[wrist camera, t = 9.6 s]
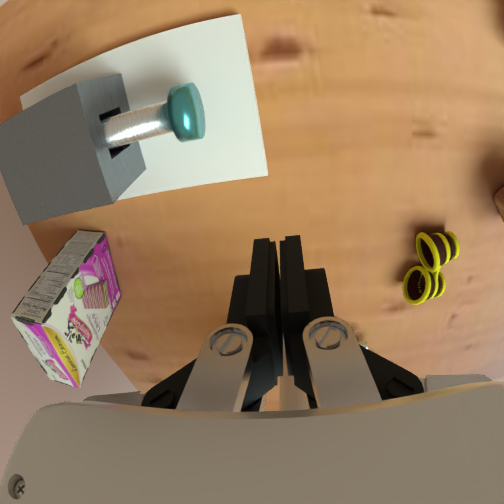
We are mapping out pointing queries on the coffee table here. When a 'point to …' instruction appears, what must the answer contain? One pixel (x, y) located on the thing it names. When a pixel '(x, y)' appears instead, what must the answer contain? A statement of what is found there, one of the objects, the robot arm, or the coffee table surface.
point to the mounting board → (212, 94)
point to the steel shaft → (160, 119)
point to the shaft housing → (68, 152)
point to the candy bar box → (70, 307)
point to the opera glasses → (429, 266)
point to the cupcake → (500, 202)
